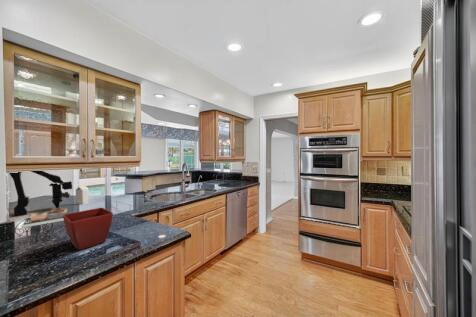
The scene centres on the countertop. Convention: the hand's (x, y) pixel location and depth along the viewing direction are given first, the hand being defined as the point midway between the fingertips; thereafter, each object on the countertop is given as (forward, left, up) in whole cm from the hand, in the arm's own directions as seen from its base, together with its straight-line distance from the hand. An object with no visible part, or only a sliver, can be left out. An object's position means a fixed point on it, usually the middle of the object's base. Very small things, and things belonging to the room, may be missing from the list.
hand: (57, 208), depth 174 cm
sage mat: (-5, -23, -2) cm, 23 cm away
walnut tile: (0, -8, -1) cm, 8 cm away
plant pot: (+14, -92, -3) cm, 93 cm away
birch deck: (-5, -8, -2) cm, 10 cm away
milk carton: (+18, +12, -3) cm, 22 cm away
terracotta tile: (-10, -20, -2) cm, 23 cm away
